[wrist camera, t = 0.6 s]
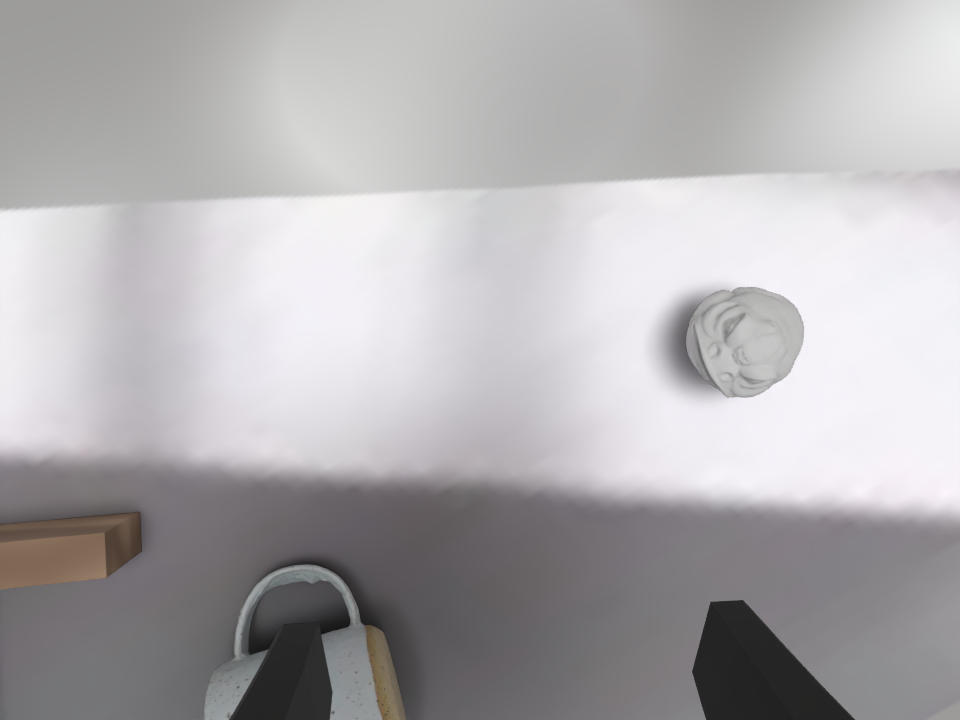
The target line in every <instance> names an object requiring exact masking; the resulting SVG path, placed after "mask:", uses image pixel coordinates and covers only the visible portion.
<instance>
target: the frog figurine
mask: <svg viewBox="0 0 960 720" xmlns="http://www.w3.org/2000/svg"><path fill="white" fill-rule="evenodd" d="M803 338H804V326H803V321H802V319H801V316H800V314H799V312H798V310H797V308H796V307H795V306H794V304H792V303H791V302H790V301H789V300H788V299H786V298H785V297H783V296H781V295H779V294H775V293H772V292H769V291H766V290H764V289H760V288H756V287H739V288H736V289H735V290H733V291H732V293H731V292H730V291H726V290H721V291H718V292H715V293H713V294H711V295H710V296H708V297H707V298H706V299H705V300H704V301H702V303H701V304H700V305H699V306H698V308H697V309H696V311H695V312H694V313H693V315H692V317H691V320H690V322H689V328H688V331H687V337H686V347H687V352H688V355H689V358H690V360H691V362H692V363H693V365H694V366H695V367H696V369H697V370H698V371H699V374H700V375H701V376H702V377H703V378H704V379H705V380H707V381H708V382H710V383H711V384H712V385H713V386H714V387H716V388H717V389H719V390H720V391H721V392H722V393H723V394H724V395H725V396H726V397H753V396H756V395H759V394H761V393H763V392H764V391H766V390H767V389H769V388H770V387H771V386H772V385H773V384H774V383H777V382H778V381H780V380H782V379H783V378H785V377H786V376H787V375H788V374H789V373H790V371H791V369H792V367H793V364H794V362H795V360H796V358H797V356H798V355H799V352H800V350H801V347H802V344H803Z"/></svg>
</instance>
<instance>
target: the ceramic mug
mask: <svg viewBox="0 0 960 720" xmlns="http://www.w3.org/2000/svg"><path fill="white" fill-rule="evenodd" d="M319 580H321V581H329V582H330V583H332V584H333V585H334V586H335V587H336V588H337V590H338V591H340V592H341V593H342V596H343V599H344V601H345V604H346V606H347V609H348V612H349V617H350V619H351V620H350V625H349V627H346V628H342V629H339V630H334V631H331V632H328V633H325V634H321V636H322V641H323V646H324V651H325V656H326V662H327V667H328V672H329V677H330V682H331V687H332V692H333V694H332V704H331V713H330V720H406V716H405V711H404V707H403V703H402V698H401V694H400V690H399V685H398V681H397V677H396V673H395V669H394V666H393V662H392V658H391V655H390V651H389V647H388V644H387V641H386V638H385V635H384V633H383V632H382V631H381V630H380V629H378V628H376V627H374V626H372V625H363V624H362V623H361V621H360V615H359V609H358V606H357V604H356V602H355V600H354V597H353V595H352V593H351V591H350V589H349V587H348V586H347V585H346V583H345V582H344V581H343V580H342V579H341V578H340V577H339V576H338V575H337V574H335V573H334V572H332V571H330V570H328V569H326V568H323V567H320V566H317V565H308V564H305V565H294V566H289V567H284V568H281V569H279V570H276V571H274V572H272V573H270V574H269V575H266V576H265V577H264V578H263V579H262V580H261V581H260V582H259V583H258V584H257V585H256V586H255V587H254V588H253V590H252V591H251V593H250V594H249V596H248V598H247V599H246V601H245V603H244V605H243V607H242V609H241V612H240V615H239V619H238V623H237V627H236V632H235V642H234V658H233V659H232V660H230V661H228V662H225V663H223V664H221V665H220V666H218V667H217V668H216V670H215V671H214V672H213V674H212V676H211V678H210V681H209V685H208V688H207V691H206V698H205V707H204V720H229V719H230V717H231V716H232V714H233V712H234V711H235V709H236V707H237V706H238V704H239V702H240V700H241V699H242V697H243V695H244V693H245V692H246V690H247V688H248V686H249V685H250V683H251V681H252V679H253V678H254V676H255V674H256V672H257V670H258V669H259V667H260V665H261V663H262V661H263V659H264V657H265V656H266V654H267V652H268V650H269V649H268V650H265V651H262V652H258V653H255V654H252V655H250V654H249V651H248V638H249V629H250V624H251V620H252V617H253V613H254V610H255V608H256V606H257V604H258V602H259V600H260V599H261V597H262V596H263V595H264V593H265V592H267V591H269V590H270V589H272V588H273V587H275V586H280V585H285V584H289V583H294V582H301V581H308V582H310V583H316V582H318V581H319Z"/></svg>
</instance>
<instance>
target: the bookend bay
mask: <svg viewBox="0 0 960 720" xmlns="http://www.w3.org/2000/svg"><path fill="white" fill-rule="evenodd" d="M141 551H142V547H141V526H140V512H134V513H123V514H112V515H101V516H90V517H79V518H68V519H57V520H46V521H35V522H24V523H12V524H1V525H0V589H7V588H17V587H26V586H35V585H44V584H54V583H63V582H72V581H82V580H91V579H100V578H107V577H108V576H110V575H111V574H112V573H114V572H115V571H116V570H118V569H119V568H120V567H122V566H123V565H124V564H125V563H127V562H128V561H129V560H131V559H132V558H133V557H135V556H136V555H137V554H139V553H140V552H141Z"/></svg>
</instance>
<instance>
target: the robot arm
mask: <svg viewBox="0 0 960 720" xmlns="http://www.w3.org/2000/svg"><path fill="white" fill-rule="evenodd" d="M692 673H693V676H694V680H695V683H696V687H697V690H698V694H699V697H700V701H701V704H702V707H703V711H704V714H705V717H706V720H855V719H854V718H853V717H852V716H851V715H850V714H849V713H848V712H847V711H846V710H845V709H844V708H843V707H842V706H841V705H840V704H839V703H838V702H837V701H836V700H835V699H834V698H833V697H832V696H831V695H830V694H829V692H828V691H827V690H826V689H825V688H824V687H823V686H822V685H821V684H820V683H819V682H818V681H817V680H816V679H815V678H814V677H813V676H812V675H811V674H810V672H809V671H808V670H807V669H806V668H805V667H804V666H803V665H802V664H801V663H800V662H799V661H798V660H797V658H796V657H795V656H794V655H793V654H792V653H791V652H790V651H789V650H788V649H787V648H786V647H785V645H784V644H783V643H782V642H781V641H780V640H779V639H778V638H777V637H776V636H775V634H774V633H773V632H772V631H771V630H770V629H769V628H768V627H767V626H766V625H765V623H764V622H763V621H762V620H761V619H760V618H759V617H758V616H757V615H756V614H755V612H754V611H753V610H752V609H751V608H750V607H749V606H748V605H747V604H746V603H745V602H744V601H743V600H738V601H719V602H711V603H710V606H709V610H708V614H707V618H706V621H705V625H704V629H703V633H702V637H701V640H700V644H699V648H698V652H697V656H696V659H695V663H694V667H693V671H692ZM332 694H333V692H332V687H331V682H330V677H329V672H328V667H327V662H326V656H325V651H324V646H323V641H322V636H321V631H320V626H319V622H317V623H298V624H284V625H283V626H282V627H281V628H280V629H279V630H278V632H277V634H276V636H275V638H274V640H273V642H272V644H271V646H270V648H269V650H268V652H267V654H266V656H265V657H264V659H263V661H262V663H261V665H260V667H259V669H258V670H257V672H256V674H255V676H254V678H253V679H252V681H251V683H250V685H249V686H248V688H247V690H246V692H245V693H244V695H243V697H242V699H241V700H240V702H239V704H238V706H237V707H236V709H235V711H234V712H233V714H232V716H231V717H230V719H229V720H330V713H331V704H332Z"/></svg>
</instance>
